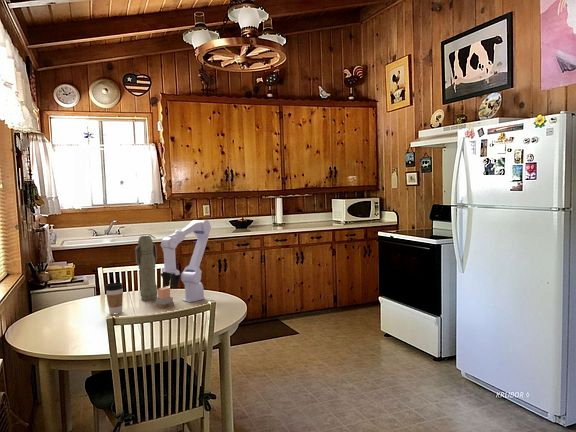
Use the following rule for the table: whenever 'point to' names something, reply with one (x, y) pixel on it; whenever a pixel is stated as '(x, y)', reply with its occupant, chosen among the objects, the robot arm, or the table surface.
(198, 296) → the robot arm
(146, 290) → the stone statue
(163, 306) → the tower base
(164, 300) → the tower middle
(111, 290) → the coffee cup
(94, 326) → the table surface
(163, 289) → the terracotta block
